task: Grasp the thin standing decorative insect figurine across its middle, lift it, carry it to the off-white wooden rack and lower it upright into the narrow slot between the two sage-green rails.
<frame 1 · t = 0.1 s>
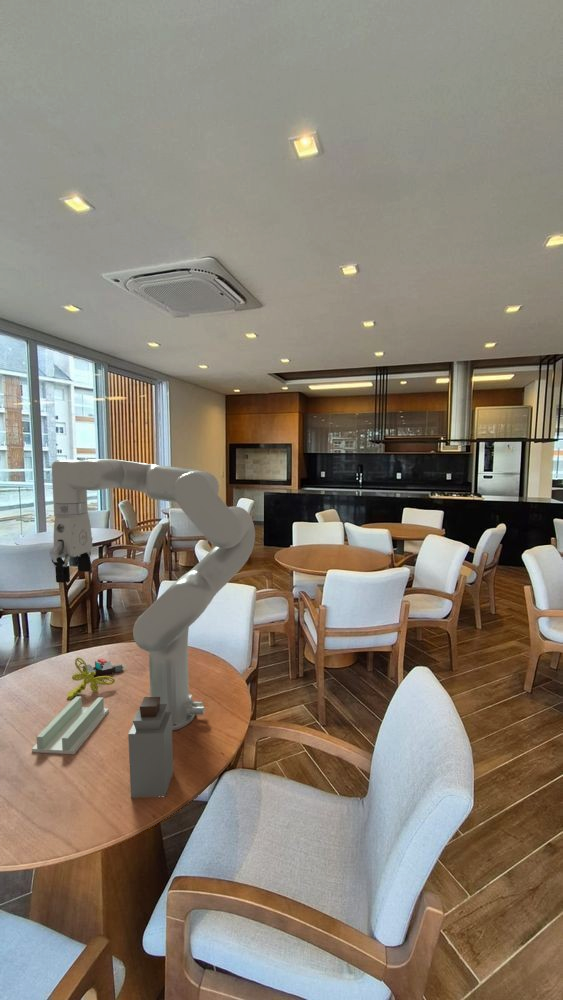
hand: (74, 576, 105), 37 cm above the table, tool pointing down, fingers open, 9 cm apart
perfume bottle: (152, 785, 85), on the table
rack: (73, 730, 102), on the table
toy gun: (104, 671, 131), on the table
decorative insect: (91, 693, 118), on the table
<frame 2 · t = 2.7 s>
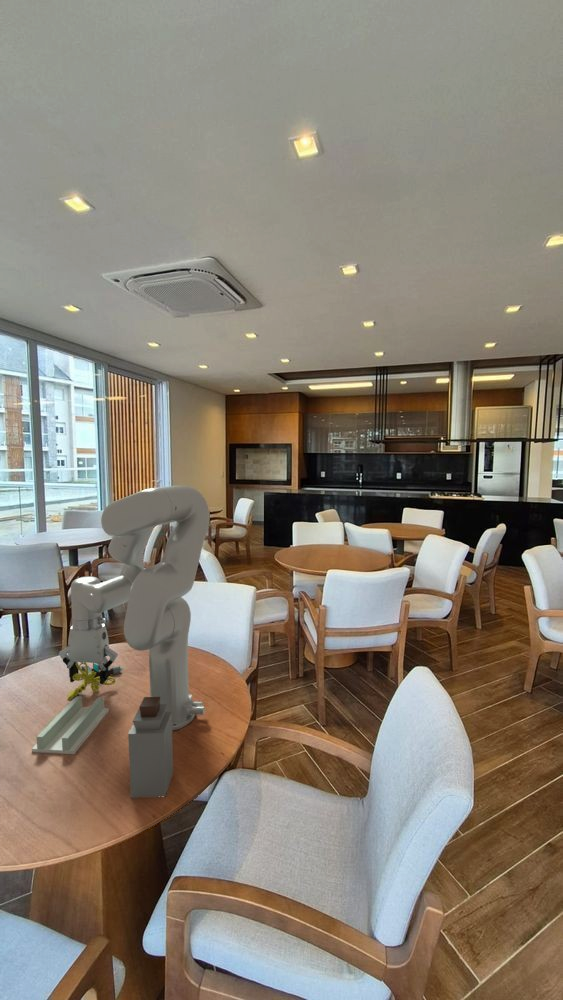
hand: (89, 680, 118), 4 cm above the table, tool pointing down, fingers closed on decorative insect, 8 cm apart
decorative insect: (92, 693, 118), on the table, touching gripper
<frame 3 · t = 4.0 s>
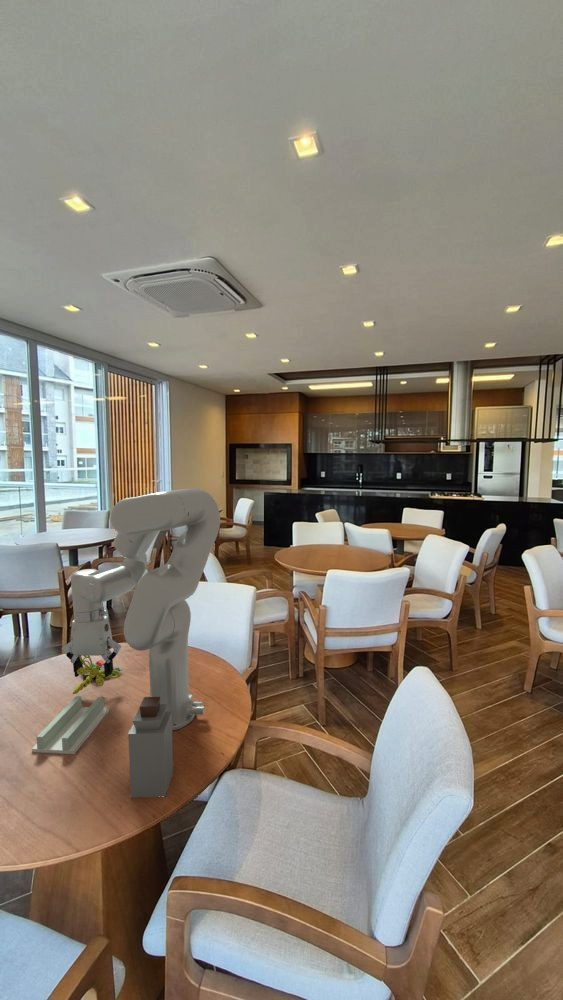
hand: (93, 674, 117), 6 cm above the table, tool pointing down, fingers closed on decorative insect, 8 cm apart
decorative insect: (97, 687, 117), point 2 cm above the table, touching gripper
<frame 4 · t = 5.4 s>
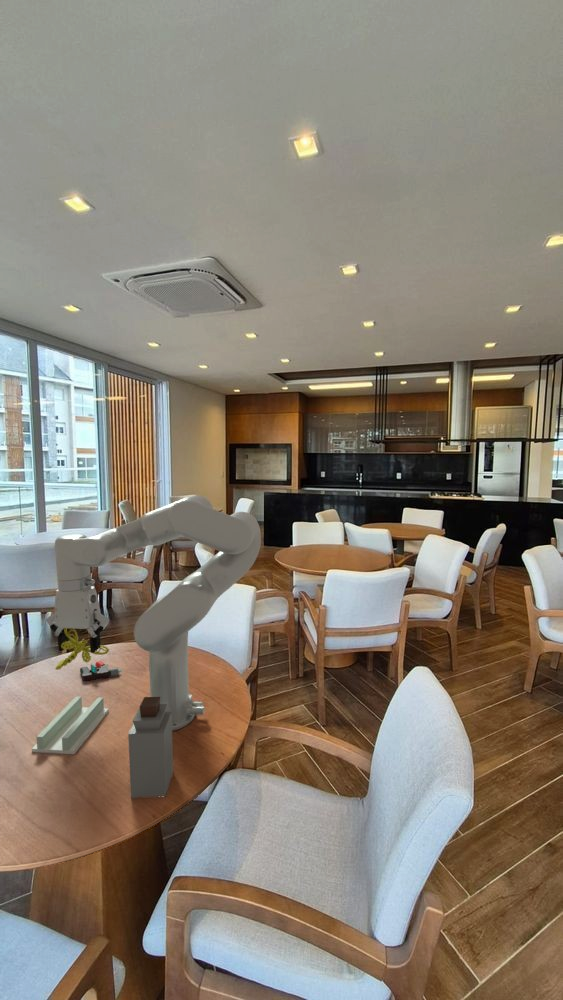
hand: (79, 649, 107), 18 cm above the table, tool pointing down, fingers closed on decorative insect, 8 cm apart
decorative insect: (83, 664, 107), point 14 cm above the table, touching gripper
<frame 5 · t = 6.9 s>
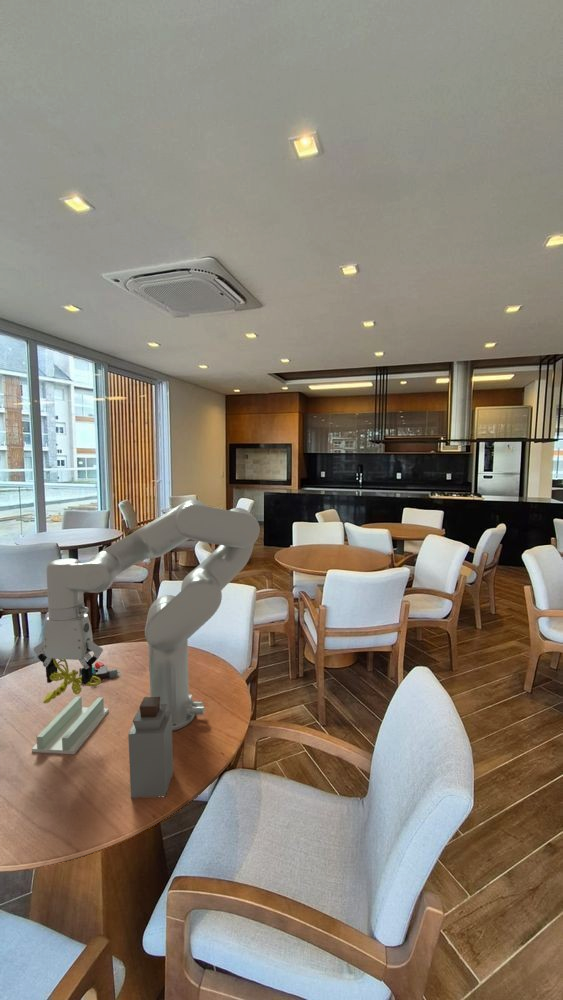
hand: (69, 680, 101), 13 cm above the table, tool pointing down, fingers closed on decorative insect, 8 cm apart
decorative insect: (73, 696, 101), point 9 cm above the table, touching gripper
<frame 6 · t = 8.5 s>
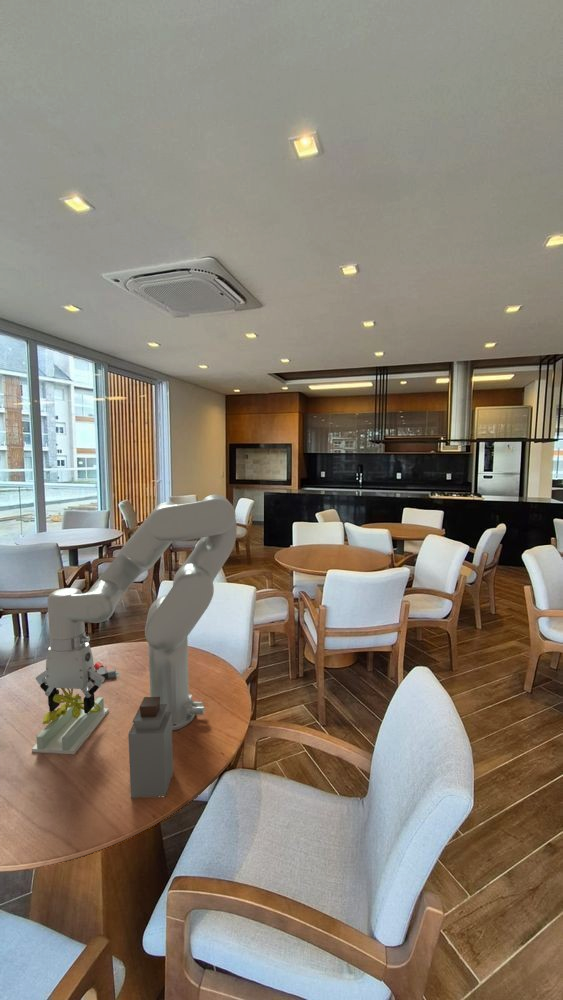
hand: (71, 708, 102), 6 cm above the table, tool pointing down, fingers closed on decorative insect, 8 cm apart
decorative insect: (71, 720, 101), point 3 cm above the table, touching gripper, rack
when the fingers open (6 cm above the table, at t = 8.8 s): decorative insect stays where it is, resting on rack.
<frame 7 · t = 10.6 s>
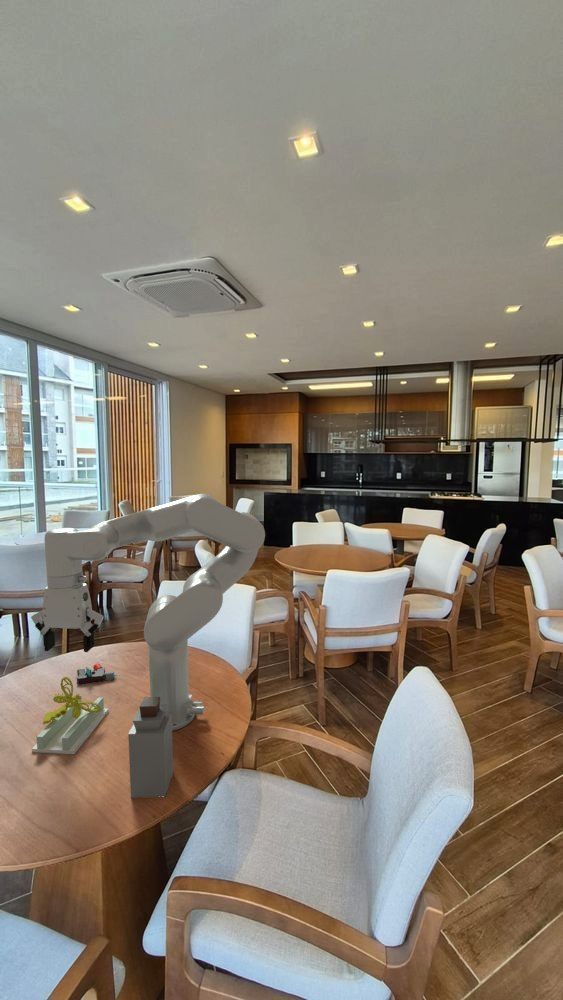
hand: (69, 649, 101), 21 cm above the table, tool pointing down, fingers open, 9 cm apart
decorative insect: (71, 720, 101), point 3 cm above the table, touching rack
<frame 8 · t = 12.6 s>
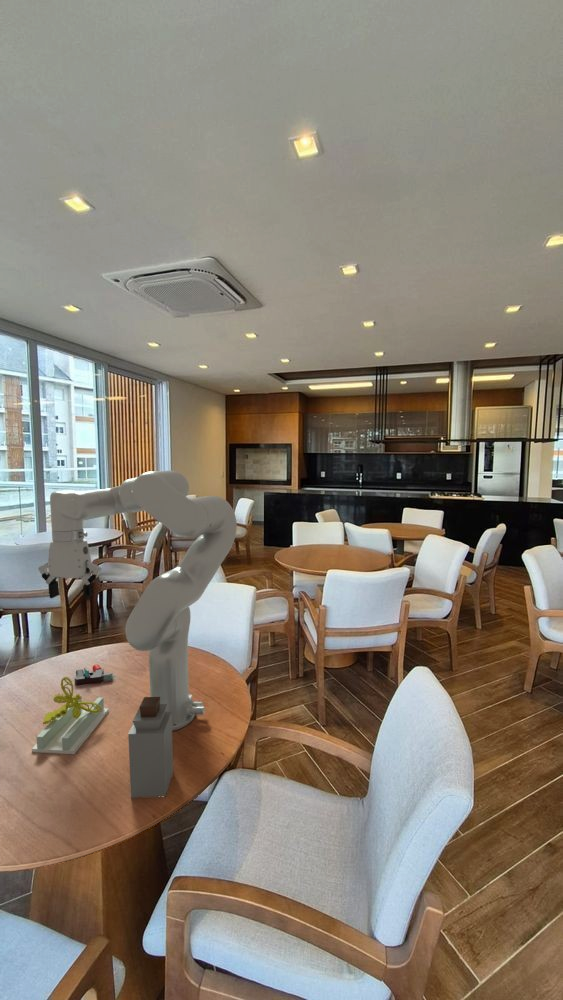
hand: (71, 597, 115), 28 cm above the table, tool pointing down, fingers open, 9 cm apart
at the end: decorative insect inside the target area on the rack (0.6 cm from its centre), point 3.0 cm above the rack's base; decorative insect tilted 13°; the gripper is holding nothing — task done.
